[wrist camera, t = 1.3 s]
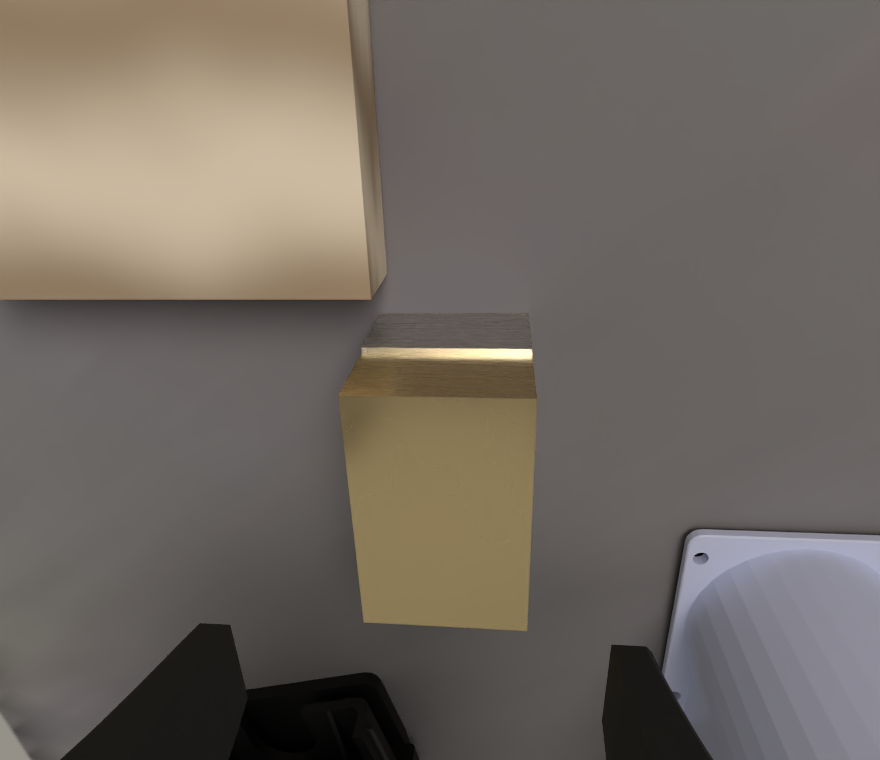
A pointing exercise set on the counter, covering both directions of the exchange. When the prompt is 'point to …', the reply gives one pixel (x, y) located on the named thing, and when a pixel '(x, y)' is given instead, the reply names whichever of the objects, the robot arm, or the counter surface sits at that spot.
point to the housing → (442, 468)
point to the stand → (188, 151)
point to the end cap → (322, 722)
